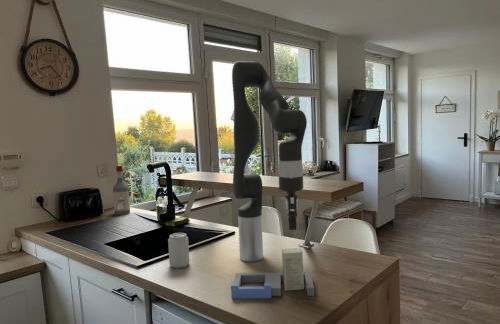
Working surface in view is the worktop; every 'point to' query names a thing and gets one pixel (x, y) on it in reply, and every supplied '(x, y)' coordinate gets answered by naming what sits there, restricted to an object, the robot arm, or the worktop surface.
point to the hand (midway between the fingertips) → (292, 225)
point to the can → (178, 250)
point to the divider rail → (270, 286)
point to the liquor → (121, 194)
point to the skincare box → (293, 269)
